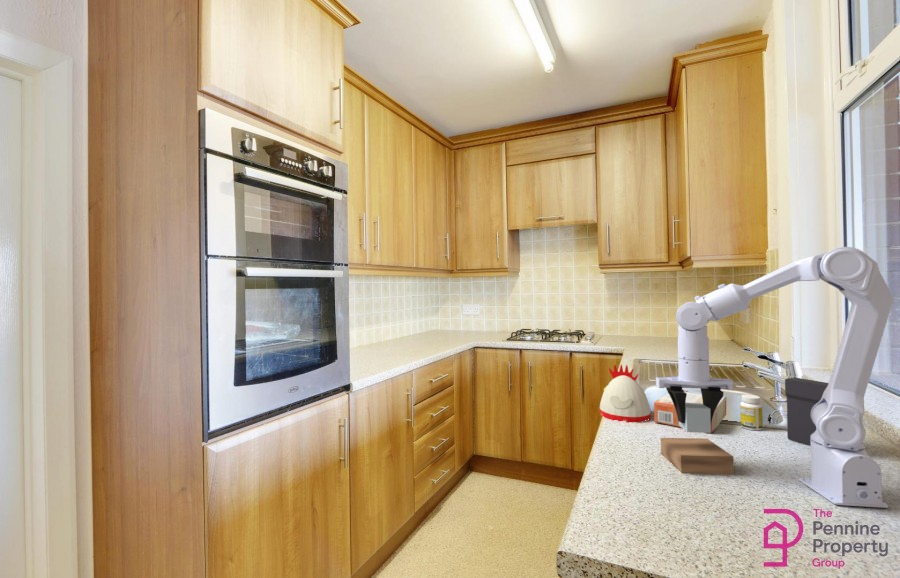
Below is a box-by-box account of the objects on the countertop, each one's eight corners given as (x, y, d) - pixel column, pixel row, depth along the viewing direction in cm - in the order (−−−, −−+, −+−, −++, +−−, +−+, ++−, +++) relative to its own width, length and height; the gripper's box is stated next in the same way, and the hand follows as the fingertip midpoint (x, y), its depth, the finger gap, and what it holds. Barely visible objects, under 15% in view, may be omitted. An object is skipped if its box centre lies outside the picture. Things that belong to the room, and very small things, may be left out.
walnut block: (733, 476, 83) (733, 456, 83) (681, 475, 84) (680, 455, 84) (707, 456, 93) (707, 438, 93) (661, 455, 94) (660, 437, 94)
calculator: (852, 453, 93) (851, 385, 93) (841, 456, 91) (840, 387, 91) (796, 437, 103) (795, 376, 103) (785, 439, 101) (784, 378, 101)
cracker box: (711, 435, 106) (727, 415, 121) (711, 412, 106) (727, 394, 121) (653, 423, 115) (674, 406, 131) (652, 401, 115) (674, 387, 131)
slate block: (710, 432, 86) (710, 408, 86) (687, 432, 87) (686, 408, 87) (701, 425, 90) (700, 402, 90) (678, 425, 91) (678, 402, 91)
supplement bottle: (755, 425, 112) (754, 394, 112) (767, 431, 108) (766, 398, 108) (736, 424, 113) (736, 394, 113) (747, 430, 108) (746, 398, 108)
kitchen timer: (604, 406, 132) (604, 359, 132) (652, 412, 125) (651, 362, 125) (595, 418, 120) (594, 366, 121) (647, 425, 113) (647, 370, 113)
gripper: (721, 355, 91) (722, 417, 91) (651, 355, 94) (652, 415, 94) (738, 361, 84) (739, 428, 84) (661, 360, 87) (662, 425, 87)
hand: (694, 422), depth 88 cm, fingers closed on slate block, 4 cm apart
